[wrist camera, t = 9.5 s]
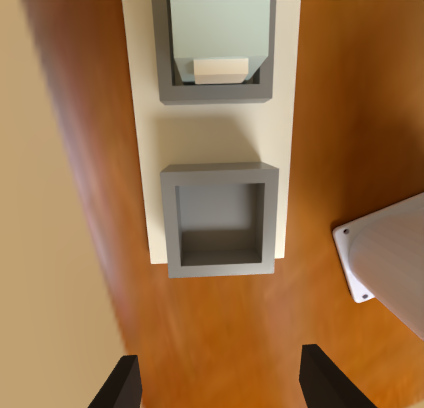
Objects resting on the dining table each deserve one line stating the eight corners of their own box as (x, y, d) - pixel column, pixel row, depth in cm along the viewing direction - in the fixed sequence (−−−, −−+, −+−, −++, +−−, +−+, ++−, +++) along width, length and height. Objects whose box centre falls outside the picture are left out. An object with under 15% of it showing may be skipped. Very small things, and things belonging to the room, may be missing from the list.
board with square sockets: (123, -30, 15) (83, -113, 10) (296, -31, 15) (342, -111, 10) (153, 257, 20) (138, 295, 15) (280, 252, 20) (304, 287, 16)
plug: (180, 17, 14) (166, -64, 9) (244, 15, 15) (272, -65, 9) (185, 97, 16) (175, 73, 10) (243, 95, 16) (267, 71, 10)
